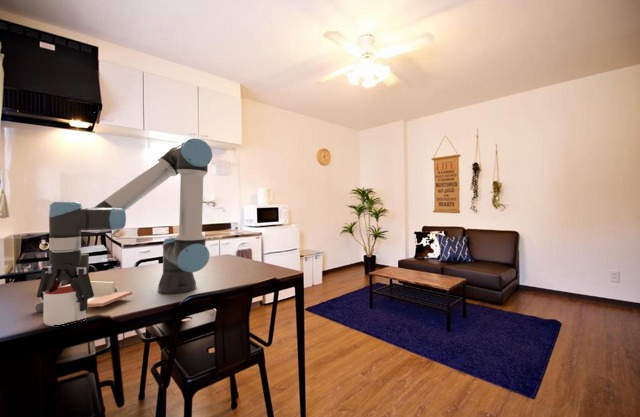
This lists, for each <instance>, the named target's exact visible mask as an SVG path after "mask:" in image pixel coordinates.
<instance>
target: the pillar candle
mask: <svg viewBox="0 0 640 417" xmlns="http://www.w3.org/2000/svg"><path fill="white" fill-rule="evenodd" d="M89 255H90V254H89V253H85V252H81V261H80V262H79V267H80V268H85V267H88V268H89V264H90V263H89V260H90V259H89V258H90V256H89ZM89 269H90V268H89ZM74 278H75V277H74ZM74 278H73V279H74ZM69 284H70V283H68V282H67V281H66V280H62V281H61V283H60V287H62V286H66V285H69Z"/></svg>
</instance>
